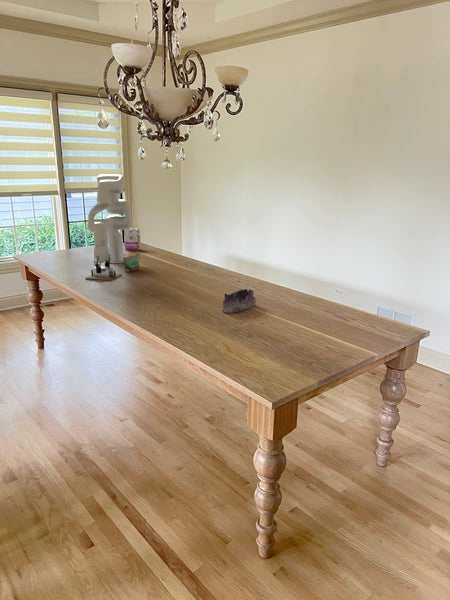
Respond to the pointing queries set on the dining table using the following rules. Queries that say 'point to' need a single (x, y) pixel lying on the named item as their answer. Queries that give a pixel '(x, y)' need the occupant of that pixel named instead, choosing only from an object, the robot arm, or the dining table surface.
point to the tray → (103, 278)
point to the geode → (238, 301)
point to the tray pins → (111, 273)
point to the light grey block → (104, 271)
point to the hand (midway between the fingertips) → (103, 271)
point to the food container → (131, 263)
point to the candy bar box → (132, 239)
